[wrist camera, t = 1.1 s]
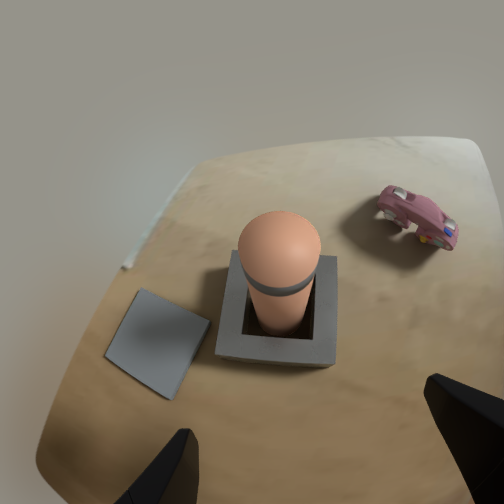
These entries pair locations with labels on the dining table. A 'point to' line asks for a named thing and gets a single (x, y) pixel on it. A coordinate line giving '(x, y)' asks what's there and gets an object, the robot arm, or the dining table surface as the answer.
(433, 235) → the video game controller
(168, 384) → the mat
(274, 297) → the pin
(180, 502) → the robot arm
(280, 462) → the dining table surface
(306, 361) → the eye block
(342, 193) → the dining table surface
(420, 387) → the dining table surface
